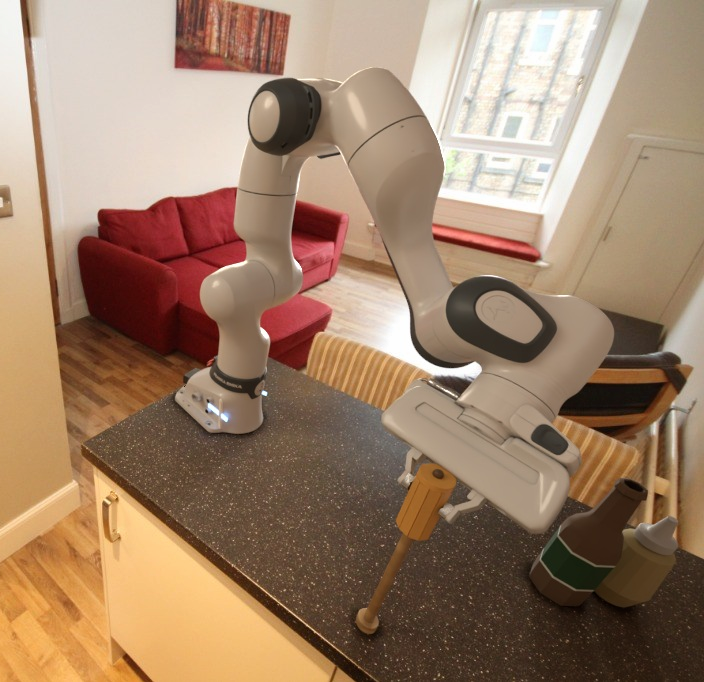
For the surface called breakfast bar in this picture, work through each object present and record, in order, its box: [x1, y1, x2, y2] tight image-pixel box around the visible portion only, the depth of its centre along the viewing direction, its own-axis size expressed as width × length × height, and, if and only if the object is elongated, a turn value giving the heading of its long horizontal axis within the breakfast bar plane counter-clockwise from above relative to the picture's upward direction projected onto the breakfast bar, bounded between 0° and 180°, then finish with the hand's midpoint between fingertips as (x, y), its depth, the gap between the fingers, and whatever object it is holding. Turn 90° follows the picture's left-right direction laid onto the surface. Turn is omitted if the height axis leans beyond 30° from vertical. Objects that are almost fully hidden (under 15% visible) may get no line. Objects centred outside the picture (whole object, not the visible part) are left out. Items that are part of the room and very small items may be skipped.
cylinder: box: [395, 462, 457, 542], centre depth 54 cm, size 4×4×10 cm
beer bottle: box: [528, 477, 649, 607], centre depth 69 cm, size 8×8×24 cm
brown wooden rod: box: [355, 532, 415, 635], centre depth 61 cm, size 3×3×24 cm
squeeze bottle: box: [593, 515, 679, 608], centre depth 71 cm, size 8×8×18 cm
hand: (422, 502), depth 54 cm, fingers closed on cylinder, 4 cm apart
